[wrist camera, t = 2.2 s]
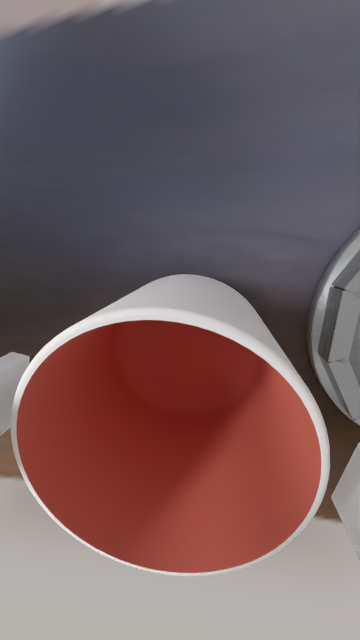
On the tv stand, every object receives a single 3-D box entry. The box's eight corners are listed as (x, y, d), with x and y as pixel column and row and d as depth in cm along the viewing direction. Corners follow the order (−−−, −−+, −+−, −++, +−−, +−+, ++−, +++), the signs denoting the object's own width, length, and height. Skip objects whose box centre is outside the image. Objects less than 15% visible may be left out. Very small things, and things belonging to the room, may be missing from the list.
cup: (99, 291, 17) (-45, 346, 8) (249, 254, 15) (311, 267, 6) (140, 417, 19) (70, 580, 10) (274, 398, 18) (347, 576, 8)
